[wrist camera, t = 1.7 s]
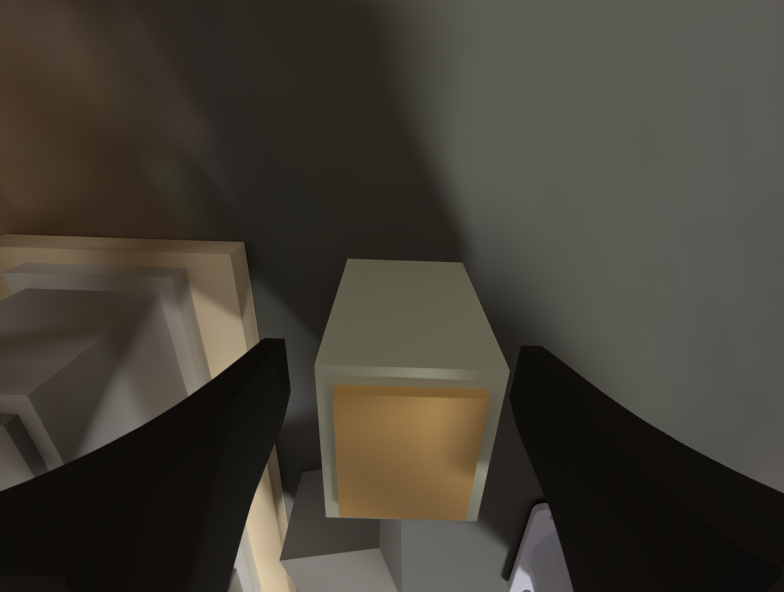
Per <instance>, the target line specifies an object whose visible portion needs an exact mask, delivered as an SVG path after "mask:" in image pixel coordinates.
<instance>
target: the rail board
mask: <svg viewBox="0 0 784 592" xmlns="http://www.w3.org/2000/svg"><path fill="white" fill-rule="evenodd" d="M259 342H260V341H259V335H258V329H257V322H256V316H255V309H254V303H253V296H252V290H251V283H250V277H249V270H248V264H247V257H246V251H245V244H244V242H226V241H196V240H166V239H136V238H107V237H77V236H47V235H17V234H6V235H2V236H0V491H2V490H5V489H7V488H10V487H12V486H15V485H18V484H20V483H23V482H25V481H28V480H30V479H32V478H35V477H37V476H39V475H42V474H44V473H46V472H49V471H51V470H53V469H55V468H58V467H60V466H62V465H64V464H67V463H69V462H71V461H73V460H75V459H77V458H80V457H82V456H84V455H86V454H88V453H90V452H92V451H94V450H96V449H98V448H100V447H102V446H104V445H106V444H108V443H110V442H112V441H114V440H116V439H117V438H119V437H121V436H123V435H125V434H127V433H129V432H131V431H133V430H134V429H136V428H138V427H140V426H142V425H144V424H145V423H147V422H149V421H150V420H152V419H154V418H155V417H157V416H159V415H160V414H162V413H164V412H165V411H167V410H169V409H170V408H172V407H173V406H175V405H176V404H178V403H179V402H181V401H182V400H184V399H185V398H187V397H188V396H190V395H191V394H192V393H194V392H195V391H197V390H198V389H199V388H201V387H202V386H204V385H205V384H206V383H208V382H209V381H211V380H212V379H213V378H215V377H216V376H217V375H219V374H220V373H221V372H222V371H224V370H225V369H226V368H228V367H229V366H230V365H231V364H233V363H234V362H235V361H236V360H238V359H239V358H240V357H241V356H243V355H244V354H245V353H246V352H247V351H249V350H250V349H251V348H252V347H254V346H255V345H256V344H257V343H259ZM287 529H288V522H287V516H286V510H285V503H284V497H283V490H282V484H281V477H280V471H279V464H278V458H277V451H276V445H275V444H274V447H273V450H272V452H271V455H270V457H269V460H268V462H267V465H266V467H265V470H264V472H263V475H262V477H261V480H260V483H259V485H258V488H257V490H256V493H255V496H254V499H253V502H252V504H251V507H250V511H249V514H248V518H247V521H246V525H245V528H244V532H243V535H242V539H241V542H240V546H239V549H238V553H237V557H236V561H235V564H234V568H233V572H232V576H231V579H230V583H229V587H228V591H227V592H297V587H296V586H295V584H294V583H293V581H292V580H291V578H290V577H289V575H288V573H287V572H286V570H285V569H284V567H283V566H282V564H281V563H280V561H279V560H280V556H281V552H282V548H283V544H284V540H285V536H286V532H287Z"/></svg>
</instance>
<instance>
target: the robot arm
mask: <svg viewBox="0 0 784 592" xmlns="http://www.w3.org/2000/svg"><path fill="white" fill-rule="evenodd" d="M290 392H291V389H290V380H289V372H288V364H287V355H286V347H285V339H276V338H264V339H263V340H261V341H260V342H259V343H257V344H256V345H255V346H254V347H252V348H251V349H250V350H249V351H247V352H246V353H245V354H244V355H243V356H241V357H240V358H239V359H238V360H236V361H235V362H234V363H233V364H231V365H230V366H229V367H228V368H226V369H225V370H224V371H222V372H221V373H220V374H219V375H217V376H216V377H215V378H213V379H212V380H211V381H209V382H208V383H206V384H205V385H204V386H202V387H201V388H199V389H198V390H197V391H195V392H194V393H192V394H191V395H190V396H188V397H187V398H185V399H184V400H182V401H181V402H179V403H178V404H176V405H175V406H173V407H172V408H170V409H169V410H167V411H165V412H164V413H162V414H160V415H159V416H157V417H155V418H154V419H152V420H150V421H149V422H147V423H145V424H144V425H142V426H140V427H138V428H136V429H134V430H133V431H131V432H129V433H127V434H125V435H123V436H121V437H119V438H117V439H116V440H114V441H112V442H110V443H108V444H106V445H104V446H102V447H100V448H98V449H96V450H94V451H92V452H90V453H88V454H86V455H84V456H82V457H80V458H77V459H75V460H73V461H71V462H69V463H67V464H64V465H62V466H60V467H58V468H55V469H53V470H51V471H49V472H46V473H44V474H42V475H39V476H37V477H35V478H32V479H30V480H28V481H25V482H23V483H20V484H18V485H15V486H12V487H10V488H7V489H5V490H2V491H0V592H227V591H228V587H229V583H230V579H231V576H232V572H233V568H234V564H235V561H236V557H237V553H238V549H239V546H240V542H241V539H242V535H243V532H244V528H245V525H246V521H247V518H248V514H249V511H250V507H251V504H252V502H253V499H254V496H255V493H256V490H257V488H258V485H259V483H260V480H261V477H262V475H263V472H264V470H265V467H266V465H267V462H268V460H269V457H270V455H271V452H272V450H273V447H274V444H275V442H276V439H277V437H278V434H279V431H280V429H281V426H282V424H283V421H284V417H285V413H286V409H287V405H288V401H289V397H290ZM509 398H510V402H511V406H512V410H513V414H514V418H515V422H516V425H517V429H518V431H519V434H520V436H521V439H522V441H523V444H524V446H525V449H526V451H527V454H528V456H529V459H530V461H531V464H532V466H533V469H534V471H535V473H536V476H537V478H538V481H539V483H540V486H541V488H542V491H543V493H544V495H545V498H546V501H547V503H540V504H537V505H535V506H534V507H533V509H532V511H531V514H530V517H529V520H528V523H527V526H526V530H525V533H524V536H523V539H522V542H521V545H520V548H519V551H518V554H517V557H516V560H515V564H514V567H513V570H512V573H511V576H510V579H509V582H508V590H509V592H784V493H782V492H780V491H777V490H775V489H773V488H771V487H769V486H766V485H764V484H762V483H760V482H758V481H755V480H753V479H751V478H749V477H747V476H745V475H743V474H741V473H738V472H736V471H734V470H732V469H730V468H728V467H726V466H724V465H722V464H720V463H718V462H716V461H714V460H713V459H711V458H709V457H707V456H705V455H703V454H701V453H699V452H697V451H695V450H693V449H692V448H690V447H688V446H686V445H684V444H683V443H681V442H679V441H677V440H675V439H674V438H672V437H670V436H669V435H667V434H665V433H664V432H662V431H660V430H659V429H657V428H655V427H654V426H652V425H650V424H649V423H647V422H645V421H644V420H642V419H641V418H639V417H638V416H636V415H635V414H633V413H632V412H630V411H629V410H627V409H626V408H624V407H623V406H621V405H620V404H618V403H617V402H615V401H614V400H613V399H611V398H610V397H608V396H607V395H606V394H604V393H603V392H601V391H600V390H599V389H597V388H596V387H595V386H593V385H592V384H591V383H589V382H588V381H587V380H585V379H584V378H583V377H581V376H580V375H579V374H578V373H576V372H575V371H574V370H572V369H571V368H570V367H569V366H567V365H566V364H565V363H563V362H562V361H561V360H560V359H558V358H557V357H556V356H554V355H553V354H552V353H550V352H549V351H548V350H546V349H545V348H543V347H542V346H521V349H520V354H519V358H518V362H517V367H516V371H515V375H514V379H513V384H512V388H511V392H510V397H509Z"/></svg>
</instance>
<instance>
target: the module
mask: <svg viewBox="0 0 784 592" xmlns="http://www.w3.org/2000/svg"><path fill="white" fill-rule="evenodd" d="M314 368H315V381H316V394H317V407H318V420H319V433H320V446H321V459H322V472H323V485H324V498H325V511H326V517H337V518H373V519H410V520H447V521H477V518H478V513H479V508H480V504H481V499H482V495H483V490H484V486H485V481H486V477H487V472H488V468H489V463H490V459H491V454H492V450H493V445H494V441H495V436H496V432H497V427H498V422H499V418H500V413H501V409H502V404H503V400H504V395H505V391H506V386H507V382H508V377H509V373H510V370H509V368H508V365H507V363H506V361H505V358H504V356H503V354H502V352H501V349H500V347H499V345H498V342H497V340H496V338H495V336H494V333H493V331H492V329H491V327H490V324H489V322H488V320H487V317H486V315H485V313H484V311H483V308H482V306H481V304H480V302H479V299H478V297H477V295H476V292H475V290H474V288H473V286H472V283H471V281H470V279H469V276H468V274H467V272H466V270H465V267H464V265H463V263H460V262H430V261H400V260H370V259H347V263H346V266H345V269H344V272H343V275H342V278H341V282H340V285H339V288H338V291H337V294H336V297H335V301H334V304H333V307H332V310H331V313H330V316H329V320H328V323H327V326H326V329H325V332H324V335H323V339H322V342H321V345H320V348H319V351H318V354H317V358H316V361H315V364H314Z"/></svg>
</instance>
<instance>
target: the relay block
mask: <svg viewBox="0 0 784 592" xmlns="http://www.w3.org/2000/svg"><path fill="white" fill-rule="evenodd" d="M279 561H280V563H281V564H282V566H283V567H284V569H285V570H286V572H287V573H288V575H289V577H290V578H291V580H292V581H293V583H294V584H295V586H296V587H297V589H298V590H299V592H402V573H401V519H373V518H337V517H326V511H325V498H324V485H323V472H322V469H319V470H312V471H306V472H302V474H301V478H300V481H299V485H298V489H297V493H296V497H295V501H294V505H293V509H292V513H291V517H290V521H289V525H288V529H287V532H286V536H285V540H284V544H283V548H282V552H281V556H280V560H279Z"/></svg>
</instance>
